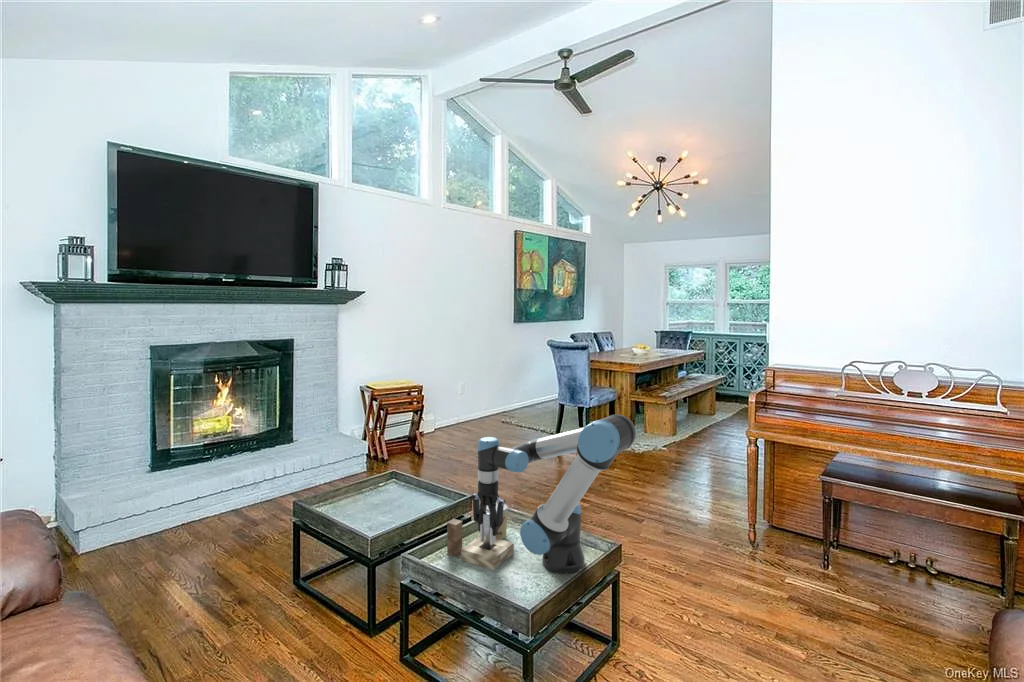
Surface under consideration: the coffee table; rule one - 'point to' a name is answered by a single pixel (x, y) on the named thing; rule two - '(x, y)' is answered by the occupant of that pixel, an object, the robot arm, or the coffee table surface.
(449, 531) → the square peg
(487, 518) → the round peg
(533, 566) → the coffee table surface
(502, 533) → the coffee cup
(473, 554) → the bore block
